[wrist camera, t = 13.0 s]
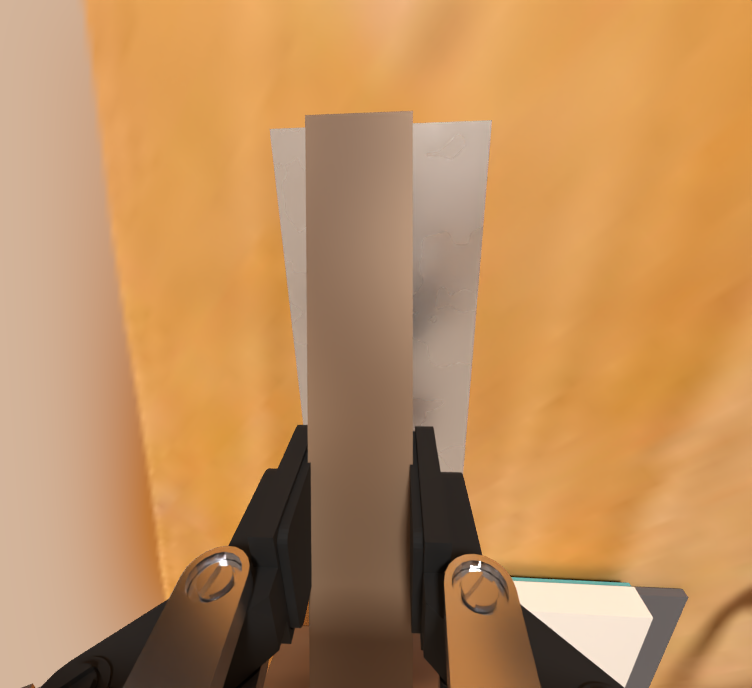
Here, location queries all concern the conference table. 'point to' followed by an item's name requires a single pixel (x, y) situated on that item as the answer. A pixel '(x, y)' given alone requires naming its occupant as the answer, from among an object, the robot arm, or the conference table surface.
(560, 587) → the tile
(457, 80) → the conference table surface
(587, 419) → the conference table surface
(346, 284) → the brown t-shaped post
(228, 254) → the conference table surface
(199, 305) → the conference table surface
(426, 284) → the tool rest
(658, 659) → the mat
